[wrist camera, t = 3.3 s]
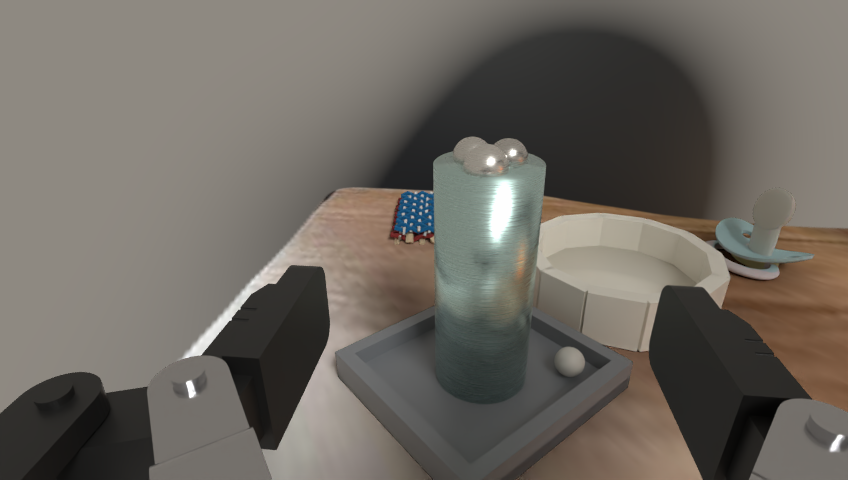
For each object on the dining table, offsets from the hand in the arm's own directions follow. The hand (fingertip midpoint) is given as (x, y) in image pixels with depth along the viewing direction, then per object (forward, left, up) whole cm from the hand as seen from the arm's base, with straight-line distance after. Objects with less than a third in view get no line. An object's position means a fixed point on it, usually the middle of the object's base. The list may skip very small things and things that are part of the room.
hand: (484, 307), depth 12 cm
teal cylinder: (-8, -8, -12) cm, 17 cm away
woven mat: (-21, -26, -13) cm, 36 cm away
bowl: (-22, -8, -13) cm, 27 cm away
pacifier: (-35, -4, -13) cm, 37 cm away
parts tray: (-8, -8, -13) cm, 17 cm away
